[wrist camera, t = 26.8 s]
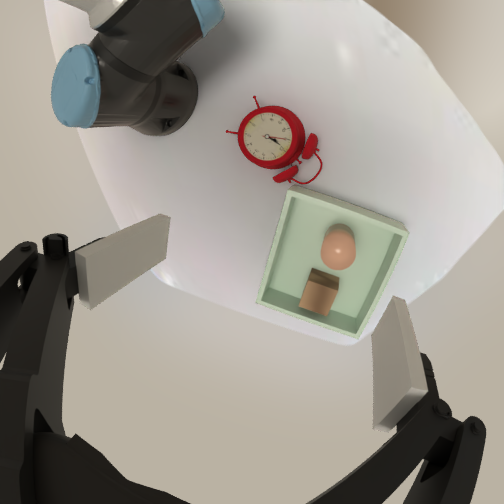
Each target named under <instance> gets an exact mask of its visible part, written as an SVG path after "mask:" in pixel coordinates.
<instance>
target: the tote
mask: <svg viewBox="0 0 504 504" xmlns="http://www.w3.org/2000/svg"><path fill="white" fill-rule="evenodd" d="M338 223H339V224H345V225H347V226H348V227H350V228H351V230H352V231H353V233H354V237H355V248H356V257H355V260H354V262H353V264H352V265H351V266H350V267H348V268H346V269H344V270H333V269H330V268H329V267H327V266H326V265H325V264H324V263H323V261H322V259H321V247H322V243H323V239H324V235H325V232H326V230H327V229H328V228H329V227H330V226H332V225H334V224H338ZM408 235H409V232H408V230H407V229H406V228H405V226H404V225H403V224H402V223H400V222H398V221H395V220H393V219H390V218H388V217H385V216H383V215H380V214H378V213H375V212H372V211H370V210H367V209H364V208H362V207H359V206H356V205H353V204H351V203H348V202H345V201H342V200H339V199H336V198H333V197H330V196H328V195H325V194H322V193H319V192H316V191H313V190H309V189H306V188H303V187H300V186H297V185H293V186H292V187H290V188H289V189H288V190H287V194H286V198H285V201H284V205H283V208H282V212H281V216H280V219H279V223H278V226H277V230H276V233H275V237H274V240H273V244H272V247H271V251H270V254H269V258H268V261H267V265H266V268H265V272H264V275H263V279H262V282H261V286H260V289H259V292H258V296H257V299H256V303H257V304H260V305H263V306H265V307H268V308H271V309H273V310H276V311H279V312H281V313H284V314H287V315H290V316H292V317H295V318H298V319H301V320H304V321H306V322H309V323H312V324H315V325H318V326H321V327H323V328H326V329H329V330H332V331H335V332H338V333H341V334H344V335H347V336H350V337H353V338H356V339H359V337H360V335H361V333H362V332H363V330H364V328H365V326H366V324H367V322H368V321H369V319H370V317H371V315H372V313H373V311H374V309H375V307H376V305H377V303H378V302H379V300H380V298H381V296H382V294H383V292H384V289H385V287H386V285H387V283H388V281H389V279H390V277H391V275H392V273H393V270H394V268H395V266H396V264H397V261H398V259H399V257H400V255H401V252H402V250H403V248H404V245H405V243H406V240H407V238H408ZM312 268H315V269H317V270H320V271H323V272H326V273H329V274H332V275H334V276H337V277H339V289H338V293H337V295H336V297H335V300H334V302H333V304H332V306H331V309H330V311H329V313H328V315H327V316H324V315H322V314H319V313H316V312H313V311H310V310H307V309H305V308H302V307H299V303H300V300H301V297H302V294H303V291H304V288H305V285H306V283H307V280H308V277H309V275H310V272H311V269H312Z"/></svg>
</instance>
